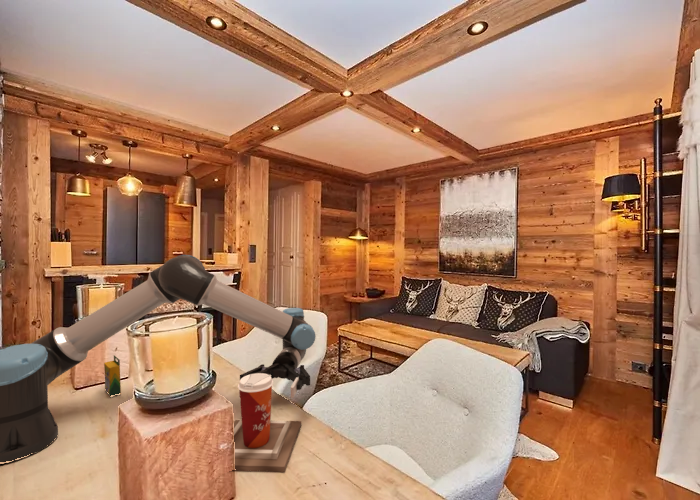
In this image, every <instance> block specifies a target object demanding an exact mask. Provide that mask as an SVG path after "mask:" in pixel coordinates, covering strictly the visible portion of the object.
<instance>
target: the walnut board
mask: <svg viewBox="0 0 700 500" xmlns="http://www.w3.org/2000/svg"><path fill="white" fill-rule="evenodd" d="M233 422H234V442H235V469H236V472H262V473H263V472H264V473H265V472H267V473H285V472H286V470H287V467H288V464H289V462H290V460H291V459H290V458H291V456H292V454H293V450H294V447H295V445H296V442H297V439H298V436H299V434H300V430H301V429H302V421H300V420H271V419H270V437H269V441H268V443H267V444H265V445H264V446H261V447H258V448H248V447H246V446H245V445H244V441H243V430H242V419H235V420H234V421H233ZM300 428H301V429H300Z"/></svg>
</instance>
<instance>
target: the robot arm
mask: <svg viewBox="0 0 700 500" xmlns="http://www.w3.org/2000/svg"><path fill="white" fill-rule="evenodd" d="M179 300H183V301H186V302H189V303H191V304H193V305H195V306H198V307H199V306H202V305H204V306H206V307H210V308H211V309H214V310H216V311H219V312H221V313H222V314H225V315H226V316H230V317H231V318H234V319H236V320H239V321H241V322H243V323H245V324H247V325H250V326H252V327H254V328H256V329H259V330H261V331H263V332H266V333H268V334H271V335H273V336H275V337H277V338H279V339H281V340H282V350H281V351H280V352H279V353H278V355H277V356H276V357H275V358H274V360H273V362H272V364H271V365H269V366H265V364H260V365H259V366H258V367H255V368H253V369H251V370H248V371H247V372H244V373H240V374H239V381H240V380H241V378H243V377H244V376H247V375H250V374H256V373H264V374H268V375H270V376H271V378H272V380H273V379H278V378H280V379H283V380H285V379H286V380H288V381H292V384H291V386H290V399H294V398H295V397H296V394H297V393H298V391H300V390H302V388H303V387H304V385H306V387H307V386H311V375H310V373H308V371H307V370H306V368H305V365H303V364H301V365H300V363H301V361H302V360H303V359H304V358H305V356H306V355H307V354H306V353H307V350H308V349H310V348H311V347H312V346H313V345H314V343H315V341H316V332H315V329H314V328H313V327H312V325H310V324H309V323H308V322H307V321H305V313H304V312H305V311H304V310H303V308H300V307H288V308H285V309H283V310H279V309H278V308H276V307H274V306H272V305H270V304H267V303H266V302H263V301H261V300H259V299H257V298H255V297H253V296H250V295H249V294H246V293H244V292H242V291H240V290H238V289H236V288H234V287H231V286H230V285H228V284H226V283H223V282H222V281H219V280H218V279H217V276H216V275H215V274H213V273H211V272H209V271H207V270H206V269H205V266H204V264H203V262H201V260H200V259H198V257H195V256H193V255H190V254H181V255H177V256H175V257H172V258H170V259H168V260H167V261H165V262H164V263H163V264H162V265H161V266H159V267H157V268H156V269H153V270H152V271H150V272H149V273H148V277H147V280H145V281H144V282H142V283H140V284H139V285H137V286H135V287H134V288H132V289H130V290H128V291H127V292H126V293H123V294H122V295H121V296H119V297H117V298H116V299H113V300H112V301H110V302H108V303H107V304H105V305H103V306H102V307H100V308H99V309H97V310H96V311H94V312H92V313H91V314H88V315H87V316H85V317H84V318H82V319H80V320H78V321H77V322H76V323H74V324H72V325H71V326H69V327H66V326H65V327H63V326H62V327H61V326H59V327H57V328H55V329H53V330H51V331H50V332H48V333H46V334H45V335H43V336H41V337H40V338H37V339H35V340H34V341H33V342H31V343H23V344H16V345H12V346H8V347H5V348H3V349H0V462H6V461H12V460H15V459H17V458H21V457H24V456H27V455H29V454H31V453H34V452H37V451H39V450H41V449H42V448H44V447H46V446H47V445H49V444H50V443H51V442H52V441H54V439H55V438H56V437H57V435H58V436H59V426H58V424H57V422H56V421H55V418H54V415H53V414H52V412H51V410H50V408H49V404H48V403H49V401H48V400H49V397H48V396H49V394H48V392H49V389H48V386H49V385H50V384H51V383H52V382H54V381H55V380H57V379H58V378H59V377H60V376H61V375H63V374H65V373H67V372H68V371H69V370H71V369H72V368H74V367H75V366H77V365H79V364H80V363H81V362H84V361H85V360H86V359H87V357H88V353H89V351H91V350H92V349H94V348H96V347H97V346H98V345H100V344H102V343H104V342H105V341H107V340H108V339H110V338H111V337H113V336H115V335H116V334H118V333H119V332H121V331H123V330H124V329H125V328H127V327H129V326H131V325H132V324H133V323H135V322H137V321H138V320H140V319H141V318H143V317H144V316H146V315H147V314H150V313H152V312H153V311H154V310H156V309H157V308H159V307H160V306H162V305H164V304H174V303H176V302H178V301H179ZM238 393H239V396H238V397H239V398H240V391H239V390H238ZM57 438H58V437H57ZM54 442H55V441H54ZM50 445H51V444H50ZM50 445H49V446H50ZM47 447H48V446H47ZM47 447H46V448H47ZM44 449H45V448H44ZM41 451H42V450H41ZM39 452H40V451H39ZM37 453H38V452H37Z"/></svg>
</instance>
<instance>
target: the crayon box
mask: <svg viewBox="0 0 700 500" xmlns="http://www.w3.org/2000/svg"><path fill="white" fill-rule="evenodd" d="M120 361H121V359H119V358H118V357H117V356H116V354H115V355H114V354H113V360H111V361H107V362H106V361H105V362H103V366H104V367H103V370H104V390H105V389H106V391H107V392H108V393H109V394H110V396H111V395H115V394H119V393H121V394H122V387H121V364H120V363H121V362H120ZM106 391H105V392H106ZM107 392H106V393H107ZM108 393H107V394H108ZM110 396H109V397H110Z"/></svg>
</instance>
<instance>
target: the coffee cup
mask: <svg viewBox="0 0 700 500" xmlns="http://www.w3.org/2000/svg"><path fill="white" fill-rule="evenodd" d="M273 385H274V380H273V379H272V378H271V375H268V374H264V373H256V374H250V375H247V376H244V377H243V378H241V380H240V379H239V383H238V385H237V389H238V392H239V391H240V397H239V402H240V414H241V416H240V417H241V420H242V430H243V441H244V445H245V446H246V447H248V448H258V447H261V446H264V445H265V444H267V443H268V441H269V437H270V420H271V417H272V414H271V413H272V393H273V392H272V391H273Z"/></svg>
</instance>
